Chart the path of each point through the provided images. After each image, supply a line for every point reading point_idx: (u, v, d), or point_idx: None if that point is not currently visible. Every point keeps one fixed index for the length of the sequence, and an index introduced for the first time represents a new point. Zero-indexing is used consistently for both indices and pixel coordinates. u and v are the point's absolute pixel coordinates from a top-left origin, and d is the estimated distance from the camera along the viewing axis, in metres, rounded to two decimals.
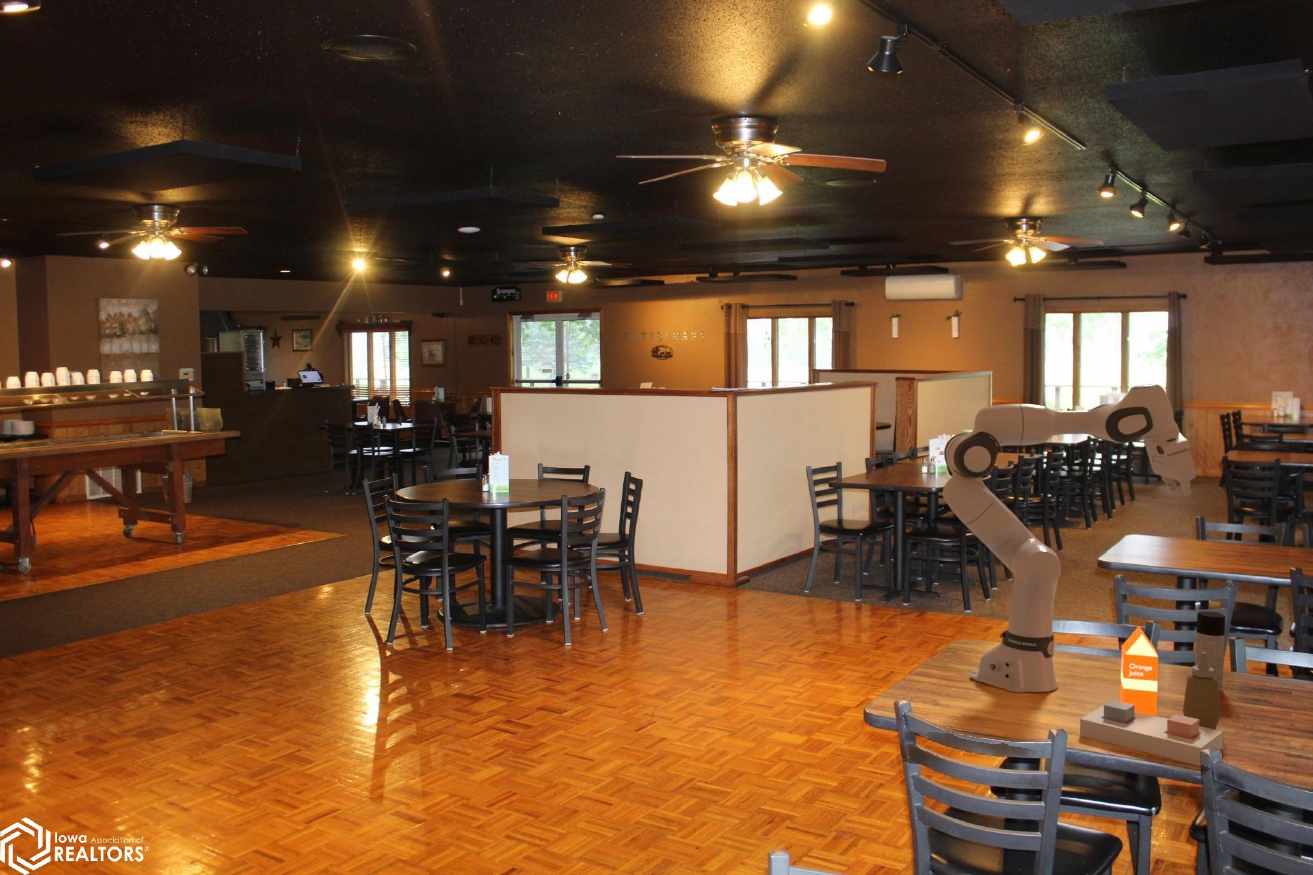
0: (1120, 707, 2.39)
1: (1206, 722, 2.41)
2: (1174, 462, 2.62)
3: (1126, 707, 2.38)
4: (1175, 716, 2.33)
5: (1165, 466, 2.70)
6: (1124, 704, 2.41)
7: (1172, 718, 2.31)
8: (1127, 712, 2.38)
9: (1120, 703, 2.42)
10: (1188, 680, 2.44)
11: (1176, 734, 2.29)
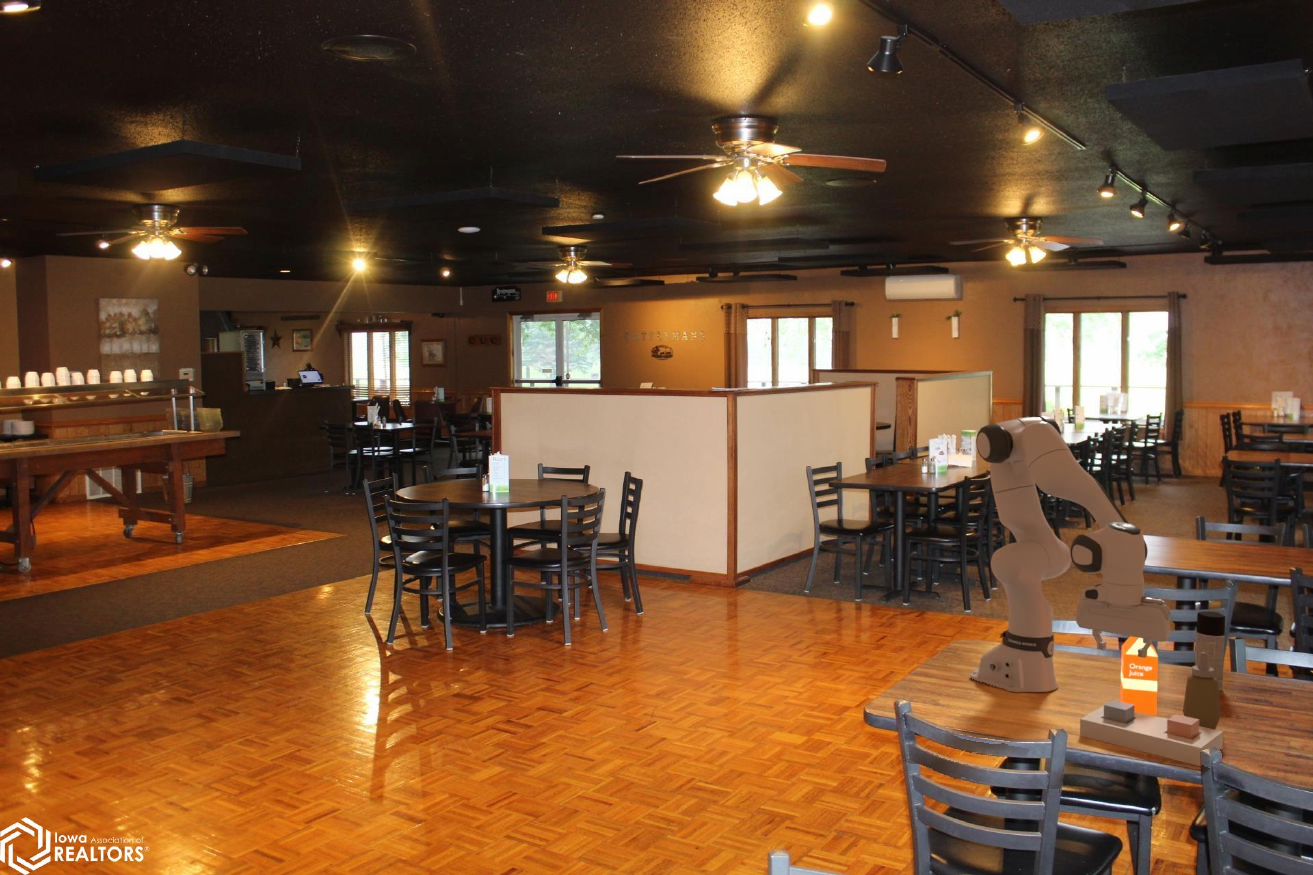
0: (1120, 707, 2.39)
1: (1206, 722, 2.41)
2: None
3: (1126, 707, 2.38)
4: (1175, 716, 2.33)
5: None
6: (1124, 704, 2.41)
7: (1172, 718, 2.31)
8: (1127, 712, 2.38)
9: (1120, 703, 2.42)
10: (1188, 680, 2.44)
11: (1176, 734, 2.29)
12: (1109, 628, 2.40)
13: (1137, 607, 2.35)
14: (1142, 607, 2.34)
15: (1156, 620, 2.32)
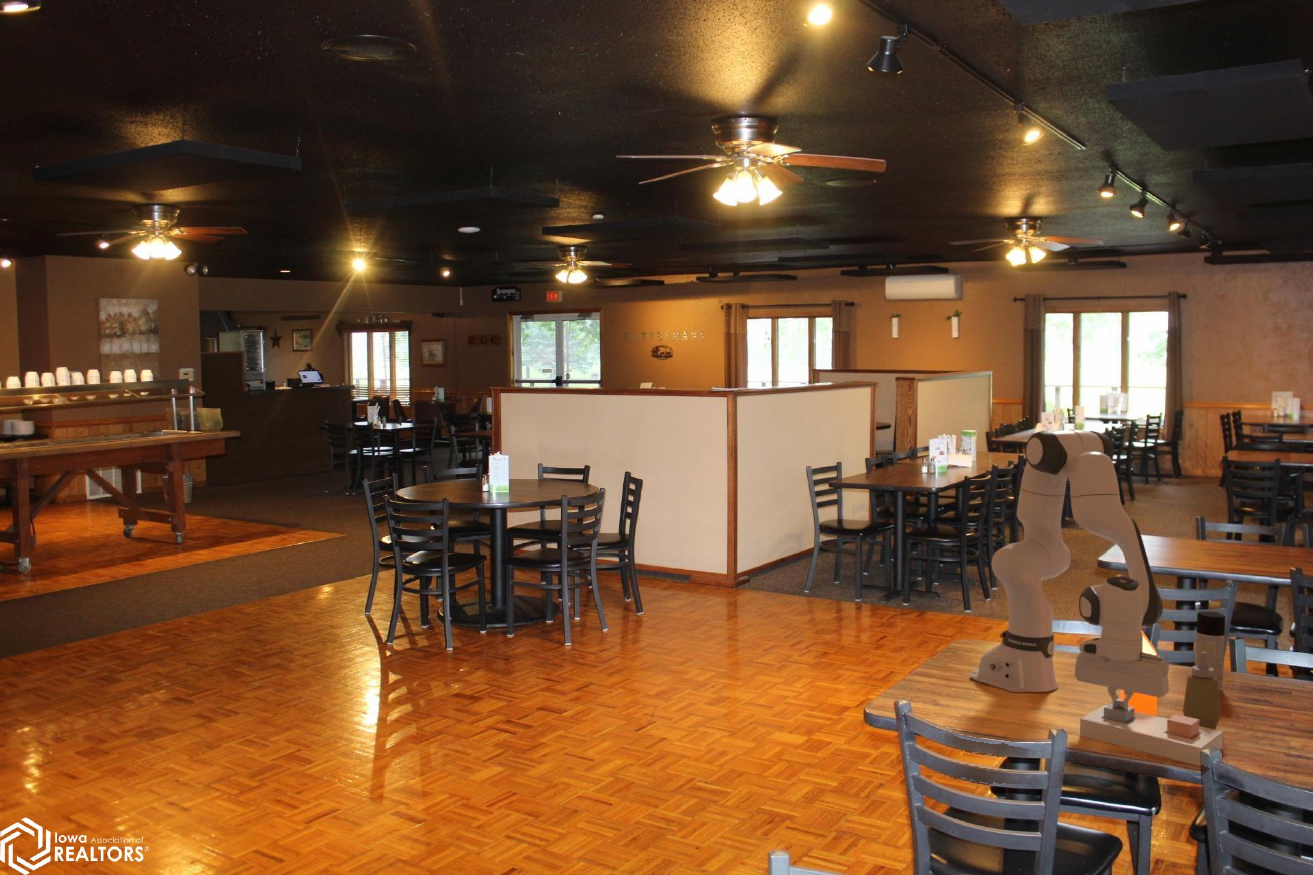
0: (1120, 710, 2.39)
1: (1206, 722, 2.41)
2: None
3: (1126, 710, 2.39)
4: (1175, 716, 2.33)
5: None
6: None
7: (1172, 718, 2.31)
8: (1126, 715, 2.38)
9: None
10: (1188, 680, 2.44)
11: (1176, 734, 2.29)
12: (1108, 682, 2.40)
13: (1135, 662, 2.36)
14: (1140, 663, 2.35)
15: (1154, 676, 2.33)
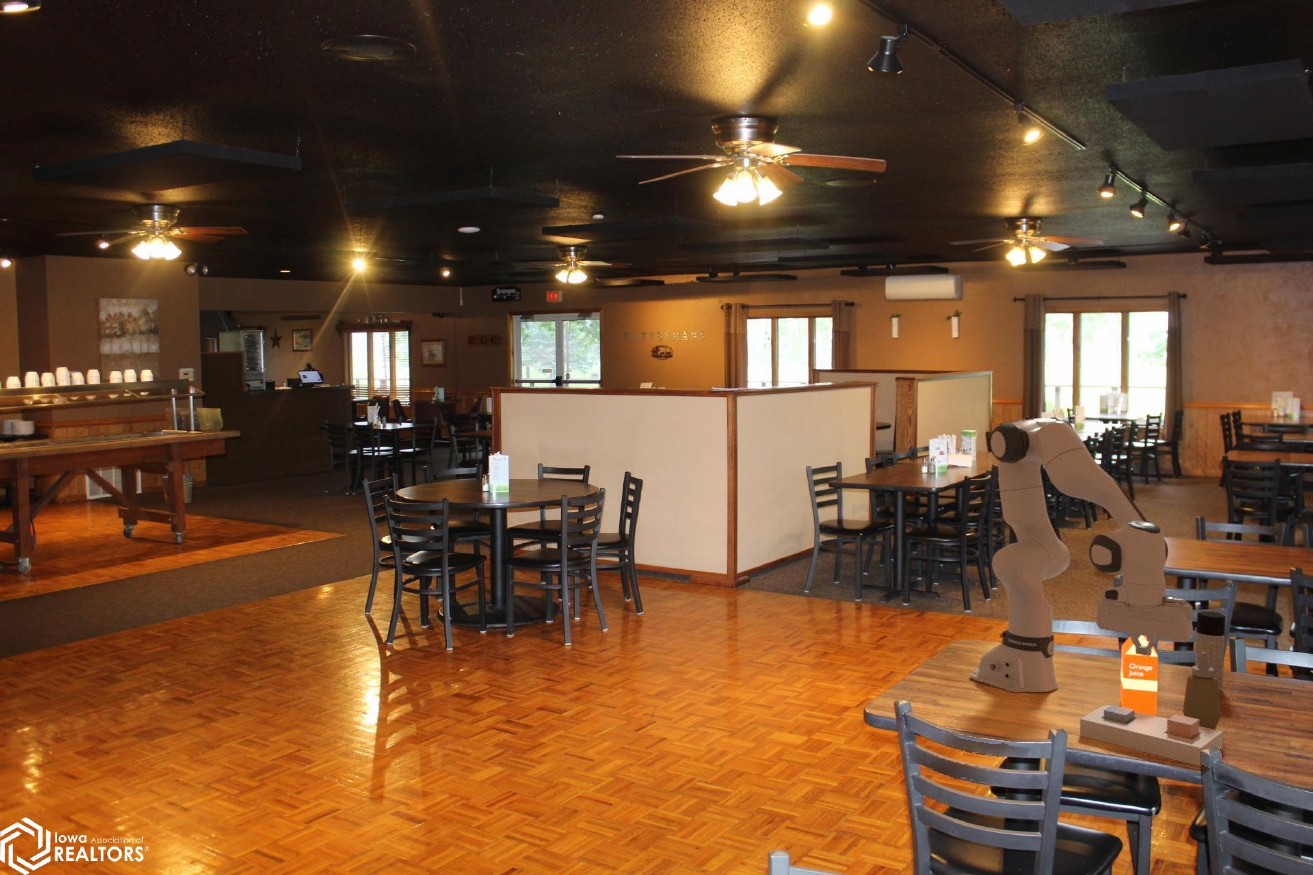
0: (1120, 712, 2.39)
1: (1206, 722, 2.41)
2: None
3: (1126, 712, 2.39)
4: (1175, 716, 2.33)
5: None
6: (1123, 709, 2.41)
7: (1172, 718, 2.31)
8: (1126, 717, 2.38)
9: (1120, 708, 2.42)
10: (1188, 680, 2.44)
11: (1176, 734, 2.29)
12: (1130, 629, 2.36)
13: (1158, 607, 2.31)
14: (1163, 607, 2.30)
15: (1178, 620, 2.28)
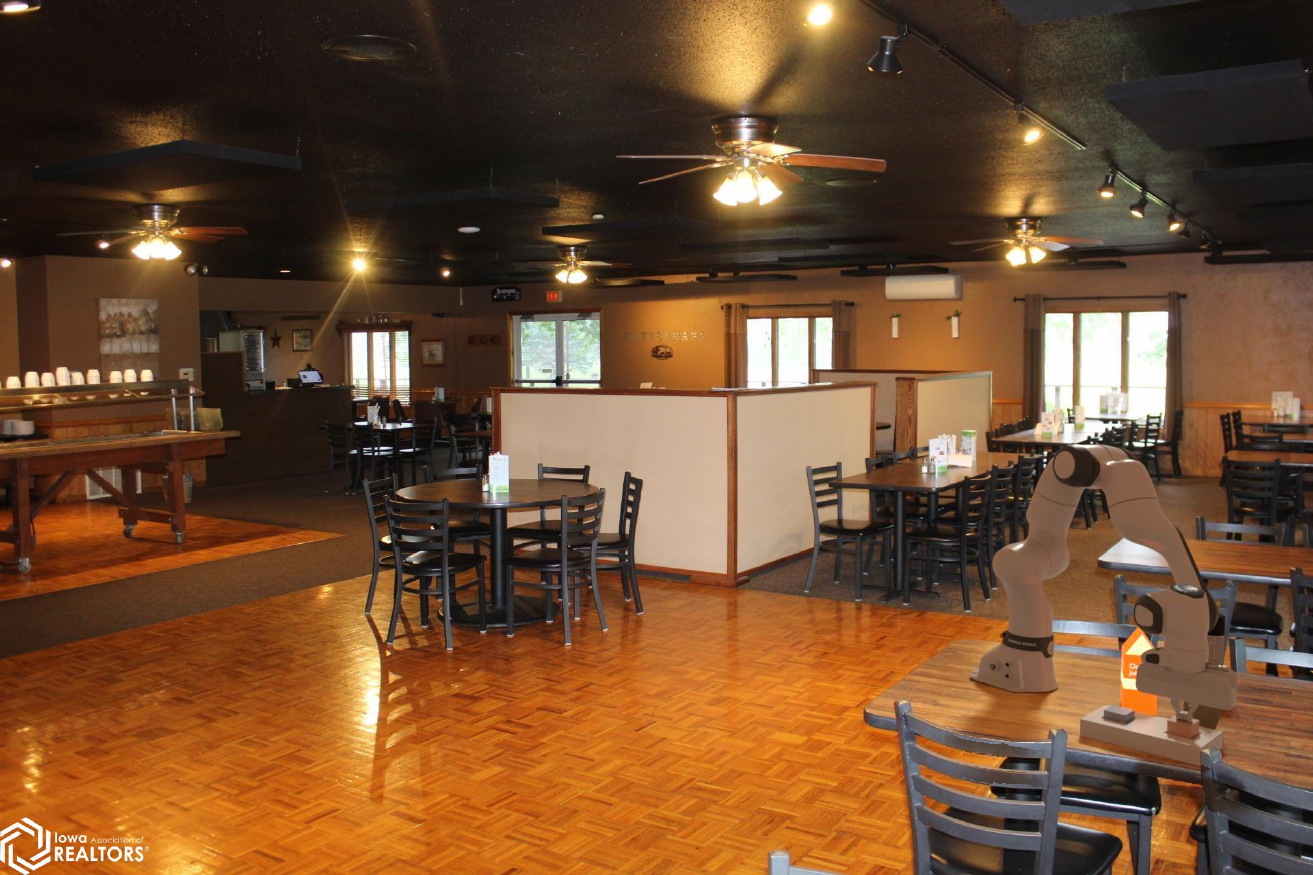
0: (1120, 712, 2.39)
1: (1206, 722, 2.41)
2: None
3: (1126, 712, 2.39)
4: (1175, 717, 2.33)
5: None
6: (1123, 709, 2.41)
7: (1172, 719, 2.31)
8: (1126, 717, 2.38)
9: (1120, 708, 2.42)
10: None
11: (1176, 735, 2.29)
12: (1171, 694, 2.30)
13: (1201, 674, 2.26)
14: (1207, 674, 2.25)
15: (1222, 688, 2.23)
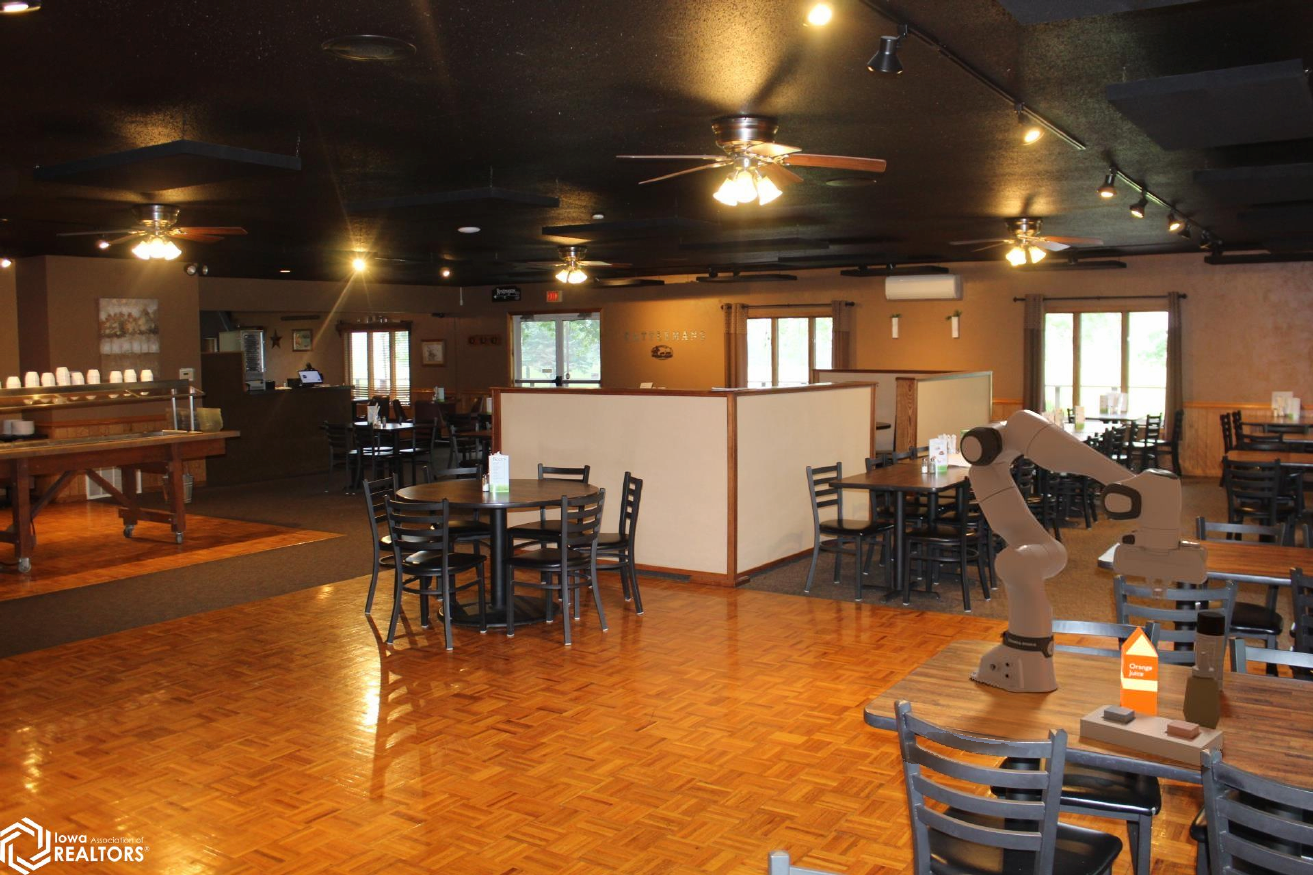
0: (1120, 712, 2.39)
1: (1206, 722, 2.41)
2: None
3: (1126, 712, 2.39)
4: (1175, 721, 2.33)
5: None
6: (1123, 709, 2.41)
7: (1172, 723, 2.31)
8: (1126, 717, 2.38)
9: (1120, 708, 2.42)
10: (1188, 680, 2.44)
11: None
12: (1146, 573, 2.43)
13: (1174, 551, 2.39)
14: (1179, 551, 2.38)
15: (1193, 563, 2.36)
